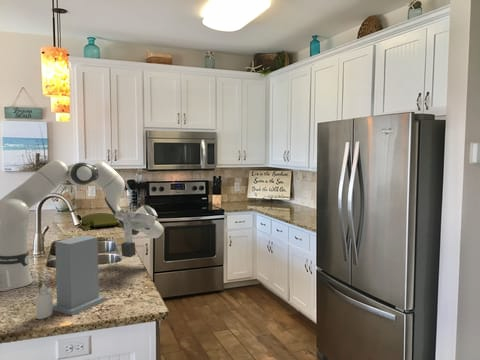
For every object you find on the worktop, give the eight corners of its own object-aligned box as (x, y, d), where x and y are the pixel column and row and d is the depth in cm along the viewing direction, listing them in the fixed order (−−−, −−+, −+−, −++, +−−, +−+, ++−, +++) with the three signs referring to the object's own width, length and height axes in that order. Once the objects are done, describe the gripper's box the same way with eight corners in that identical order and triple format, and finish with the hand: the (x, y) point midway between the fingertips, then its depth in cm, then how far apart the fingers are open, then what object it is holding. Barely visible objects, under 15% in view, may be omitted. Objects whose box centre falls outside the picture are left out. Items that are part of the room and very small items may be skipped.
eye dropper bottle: (35, 316, 142) (34, 283, 141) (51, 312, 145) (51, 281, 144) (36, 320, 138) (35, 287, 137) (53, 316, 141) (53, 284, 140)
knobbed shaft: (124, 209, 188) (118, 211, 185) (132, 210, 186) (126, 212, 183) (127, 253, 192) (122, 255, 188) (135, 254, 189) (129, 257, 186)
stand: (84, 295, 162) (82, 233, 160) (105, 300, 157) (104, 237, 155) (50, 309, 148) (48, 241, 146) (72, 315, 142) (70, 245, 140)
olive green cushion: (125, 227, 308) (125, 215, 307) (84, 231, 291) (84, 218, 290) (113, 221, 337) (113, 209, 336) (75, 224, 320) (75, 212, 319)
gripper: (127, 214, 202) (110, 203, 190) (159, 217, 192) (142, 206, 181) (123, 225, 199) (105, 215, 188) (154, 229, 190) (138, 219, 179)
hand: (123, 211), depth 185 cm, fingers closed on knobbed shaft, 2 cm apart
